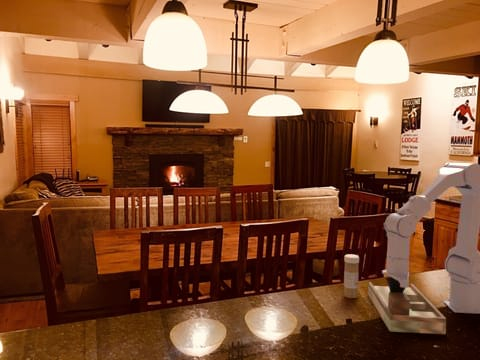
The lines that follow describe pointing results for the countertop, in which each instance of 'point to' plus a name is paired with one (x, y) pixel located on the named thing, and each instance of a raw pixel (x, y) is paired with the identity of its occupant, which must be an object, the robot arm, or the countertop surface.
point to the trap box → (420, 315)
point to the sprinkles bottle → (351, 276)
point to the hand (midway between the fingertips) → (395, 303)
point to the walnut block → (399, 303)
